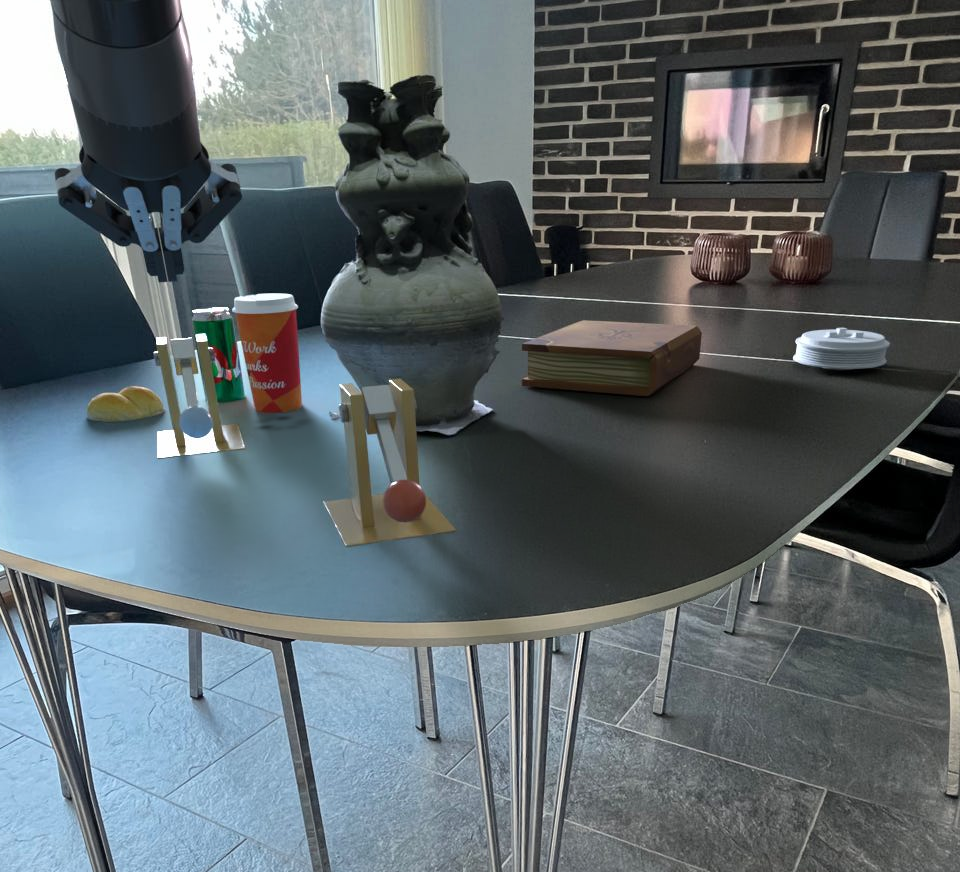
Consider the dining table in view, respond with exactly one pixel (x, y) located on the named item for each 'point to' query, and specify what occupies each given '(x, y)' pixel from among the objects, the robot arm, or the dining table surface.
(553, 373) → the diary
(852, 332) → the lid
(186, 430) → the lever
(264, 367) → the paper cup
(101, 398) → the bread roll
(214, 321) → the soda can
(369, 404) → the lever
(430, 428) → the decorative urn
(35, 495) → the dining table surface
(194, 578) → the dining table surface
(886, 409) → the dining table surface
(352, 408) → the swinging ball frame
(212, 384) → the hanging ball swing frame
